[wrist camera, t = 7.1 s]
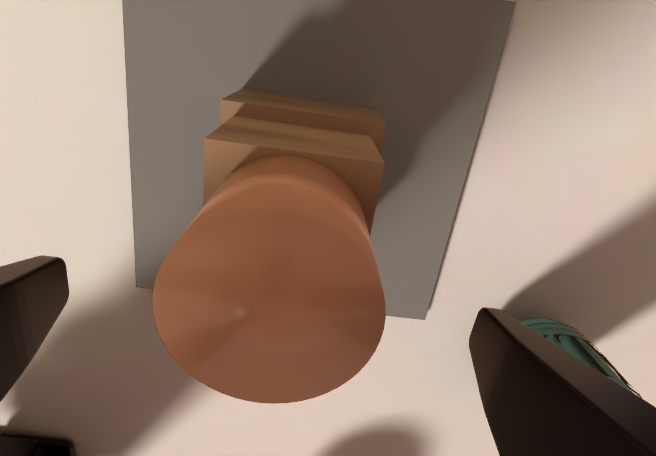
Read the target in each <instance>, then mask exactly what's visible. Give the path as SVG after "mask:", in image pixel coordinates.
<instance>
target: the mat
mask: <svg viewBox="0 0 656 456" xmlns="http://www.w3.org/2000/svg"><path fill="white" fill-rule="evenodd" d="M122 3H123V24H124V44H125V65H126V85H127V106H128V127H129V147H130V168H131V189H132V209H133V230H134V250H135V271H136V287H140V288H148V289H154V284H155V279H156V276H157V274H158V271H159V269H160V266H161V264H162V263H163V261H164V259H165V258H166V256H167V254H168V253H169V251H170V250H171V249H172V247H173V246H174V245H175V243H176V242H177V241H178V239H179V238H180V237H181V235H182V234H183V233H184V231H185V230H186V229H187V227H188V226H189V225H190V223H191V222H192V221H193V219H194V218H195V217H196V215H197V214H198V213H199V211H200V210H201V209H202V207H203V181H204V138H206V137H207V136H208V135H209V134H211V133H212V132H213V131H215V130H216V129H217V128H219V127H220V103H221V99H223V98H225V97H227V96H228V95H230V94H232V93H234V92H236V91H238V90H240V89H245V90H252V91H258V92H265V93H272V94H279V95H286V96H292V97H299V98H306V99H313V100H320V101H326V102H333V103H340V104H347V105H354V106H361V107H367V108H374V109H375V110H376V111H377V113H378V114H379V115H380V116H381V118H382V119H383V120H384V121H385V122H386V129H385V134H384V139H383V144H382V149H381V154H380V155H381V157H382V159H383V161H384V163H385V165H384V170H383V175H382V180H381V185H380V190H379V195H378V200H377V205H376V209H375V214H374V219H373V224H372V229H371V234H370V239H371V243H372V247H373V251H374V255H375V260H376V264H377V268H378V272H379V276H380V280H381V284H382V288H383V292H384V298H385V315H386V316H395V317H404V318H413V319H421V320H425V318H426V314H427V311H428V307H429V304H430V300H431V297H432V293H433V290H434V286H435V283H436V279H437V276H438V272H439V269H440V265H441V262H442V258H443V255H444V251H445V248H446V244H447V241H448V237H449V234H450V230H451V227H452V223H453V220H454V216H455V213H456V209H457V206H458V202H459V199H460V195H461V192H462V188H463V185H464V181H465V178H466V174H467V171H468V167H469V164H470V160H471V157H472V153H473V150H474V146H475V143H476V139H477V136H478V132H479V129H480V125H481V122H482V118H483V115H484V111H485V108H486V104H487V101H488V97H489V94H490V90H491V87H492V83H493V80H494V76H495V73H496V69H497V66H498V62H499V59H500V55H501V52H502V48H503V45H504V41H505V38H506V34H507V31H508V27H509V24H510V20H511V17H512V13H513V10H514V6H515V3H516V2H510V1H504V0H122Z"/></svg>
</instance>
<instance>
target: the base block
mask: <svg viewBox="0 0 656 456" xmlns="http://www.w3.org/2000/svg"><path fill="white" fill-rule="evenodd" d="M233 116H238V117H245V118H253V119H260V120H267V121H274V122H281V123H288V124H295V125H302V126H309V127H316V128H323V129H330V130H337V131H344V132H351V133H358V134H365V135H370V136H371V138H372V140H373V142H374V144H375V146H376V147H377V149H378V151H379V153H380V154H381V149H382V144H383V139H384V134H385V129H386V122H385V121H384V120H383V119H382V118H381V116H380V115H379V114H378V113H377V111H376V110H375V109H374V108H367V107H361V106H354V105H347V104H340V103H333V102H326V101H320V100H313V99H306V98H299V97H292V96H286V95H279V94H272V93H265V92H258V91H252V90H245V89H240V90H238V91H236V92H234V93H232V94H230V95H228V96H227V97H225V98H223V99H221V103H220V126H221V125H222V124H224V123H225V122H226V121H228V120H229V119H230V118H231V117H233Z"/></svg>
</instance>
